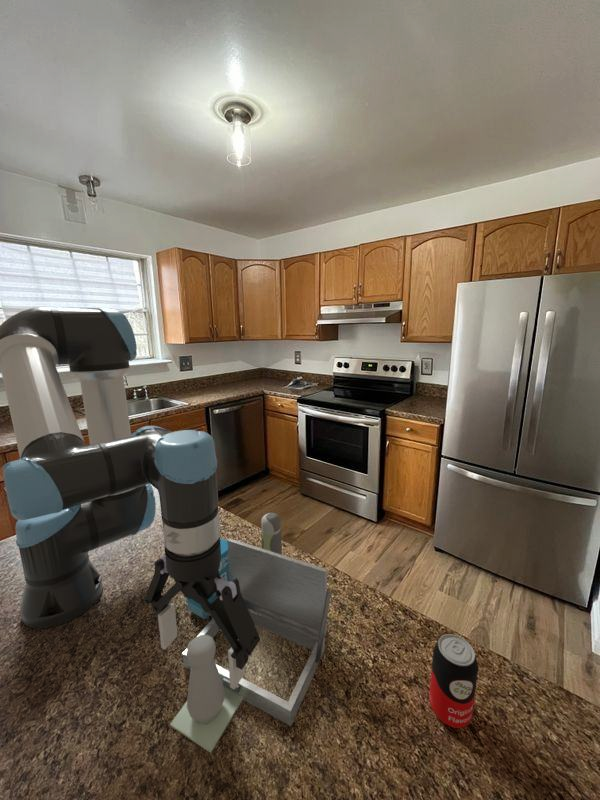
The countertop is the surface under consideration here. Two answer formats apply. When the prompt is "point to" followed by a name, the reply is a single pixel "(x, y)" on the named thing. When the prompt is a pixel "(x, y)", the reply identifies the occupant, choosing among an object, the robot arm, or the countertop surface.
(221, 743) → the countertop surface
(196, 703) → the salt shaker
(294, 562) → the case
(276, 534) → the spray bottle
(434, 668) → the beverage can
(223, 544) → the data package
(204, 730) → the pad
